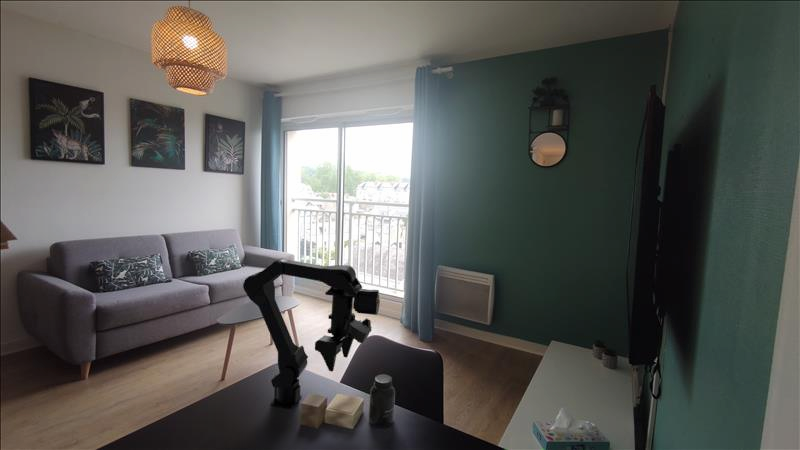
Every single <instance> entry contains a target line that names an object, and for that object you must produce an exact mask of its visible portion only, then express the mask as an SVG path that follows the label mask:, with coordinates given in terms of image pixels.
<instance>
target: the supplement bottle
mask: <svg viewBox="0 0 800 450" xmlns="http://www.w3.org/2000/svg"><path fill="white" fill-rule="evenodd" d="M395 399H396V390H395V387H393V378H392V376H390V375H389V374H378V375H375V376H374V383H373V386H372V387H371V388H370V392H369V407H368V408H369V409H368V421H369V423H370V424H371V425H372V426H374V427H377V428H386V427H389V426H391V425H392V424H393V422H394V418H395V417H394V416H395V404H396V402H395V401H396V400H395Z"/></svg>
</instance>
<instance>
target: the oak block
mask: <svg viewBox="0 0 800 450" xmlns="http://www.w3.org/2000/svg"><path fill="white" fill-rule="evenodd" d="M364 403H365V399H364V398H361V397H356V396H351V395H346V394H342V393H337V394H336V395H335V397H334V398H333V399H332V400H331V402H330V403H329V404H327V408H326V409H325V420H324V423H325V424H330V425H335V426H338V427H343V428H346V429H347V428H348V429H352V430H353V429H354V427H355V425H357V423H358V421H359V419H360V418H361V416H362V414H363V413H364V407H365V406H364V405H365V404H364Z"/></svg>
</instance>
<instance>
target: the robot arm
mask: <svg viewBox="0 0 800 450" xmlns="http://www.w3.org/2000/svg"><path fill="white" fill-rule="evenodd" d="M282 275H285V276H289V277H295V278H300V279H307V280H313V281H318V282H321V283H323V284H325V285H326V286H328V287H330V288H329V289H328V290H326V291H325V293H324V294H325V296H332V300H331V301H332V302H331V313H330V314H328V319H329V320H330V326H329V328H327V334H331V335H332V336H330V335H326V334H324V335H323V336H322V337H320V338H319V339H318V340H316V341H315V342H314V350H315V351H317V352H318V353H320V355H321V357H322V358H323V361H324V363H325V365H326V368H327V369H328V371H329V372H331V373H333V372H334V370H335V365H336V359H337V355H338V354H339V353H340V352H341V353H342V356H343V358H346V359H347V358H348V356H349V353H350V350H351V348H352V345H353V342H354V340H355V341H356V342H357V343H359V344H363V343H364V342H365V341H366V340H367V339H368V338H369V335H370V333H371V331H372V329H373V328H372V326H371V325H372V323H371V322H372V321H371V319H369V318H365V319H364V320H358V319H356V314H355V313H354V312H353V309H354V311H355V312H356V313H357V314H364V315H374V316H378V313H379V309H380V302H381V299H380V293H379V292H380V290H379V289H366V288H365V289H364V288H363V286H362V283H360V281H359V279H358V278H357V274H356V271H355V269H354V268H353V267H352V266H351V265H348V264H343V265H340V264H337V265H336V264H335V265H334V264H333V265H320V264H314V263H309V262H302V261H296V260H290V259H287V258H286V257H285V258H283V257H282V258H279V259H277V260H274V261H273V262H272V263H271V264H270V265H268V266H267V267H266V268H264V269H263V270H261V271H258V272H256V273H254V274H251V275H249V276H247V277H246V278H245V279H244V282H243V283H242V288H243V290H244V292H245V294H246V295H247V297H248V299H249V300H250V301H251V302H252V303H253V304H255V305H256V306H257V307H258V308H259V311H260V313H261V317H262V319H263V321H264V322H265V325H266V327H267V330H268V332H269V334H270V337H271V339H272V342H273V344H274V346H275V349H276V351H277V367H278V372H277V373H276V374H275V375H274V376H273V378H271V380H270V383H271V386H272V388H274V390H273V393H274V394H273V398H274V399H272V400H271V402H270V405H272V406H278V407H282V408H285V409H286V408H287V409H291V408H292V407H293V406H294V405H296V403H297V402H298V401H299V400H300V399H302V397H303V396H302V394H301V385H300V379H299V378H300V376H301V374H303V372H304V371H305V369H306V368H307V366H308V358H309V356H308V354H307V353H306V351H305V348H304V346H303V345H301V346H298V345H296V344H295V343H294V341H293V338H292V336H291V334H290V332H289V329H288V327H287V324H286V322H285V320H284V317H283V315H282V312H281V310H280V307H279V305H278V303H277V301H276V286H275V281H276V280H277V279H278V278H279V277H280V276H282Z"/></svg>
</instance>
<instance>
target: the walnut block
mask: <svg viewBox="0 0 800 450" xmlns="http://www.w3.org/2000/svg"><path fill="white" fill-rule="evenodd" d="M300 405H301V406H300V425H301V426H304V427H305V426H306V427H310V428H313V429H319V428H320V426H322V424H323V422H325V409H326V408H327V407H328V396H326V395H320V394H316V393H312V392H311V393H310V394H309V395H307V396H306V397H305V399H303V401H302V402H301V403H300Z"/></svg>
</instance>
